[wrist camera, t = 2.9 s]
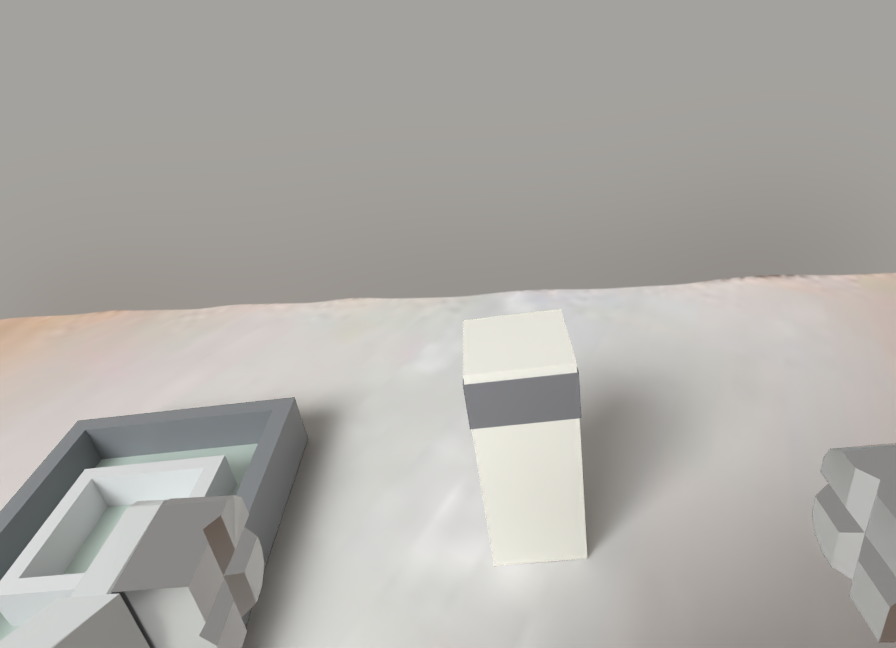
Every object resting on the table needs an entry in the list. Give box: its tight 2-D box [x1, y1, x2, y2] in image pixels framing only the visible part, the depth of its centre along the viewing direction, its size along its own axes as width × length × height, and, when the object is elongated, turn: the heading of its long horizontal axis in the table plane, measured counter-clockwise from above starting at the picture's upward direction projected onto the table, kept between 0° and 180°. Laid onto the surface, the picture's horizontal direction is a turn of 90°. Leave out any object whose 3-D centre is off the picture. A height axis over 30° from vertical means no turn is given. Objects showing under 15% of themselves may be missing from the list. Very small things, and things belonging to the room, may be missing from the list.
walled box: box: [0, 397, 308, 641], centre depth 30 cm, size 13×16×3 cm
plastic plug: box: [463, 309, 587, 566], centre depth 26 cm, size 4×4×10 cm
